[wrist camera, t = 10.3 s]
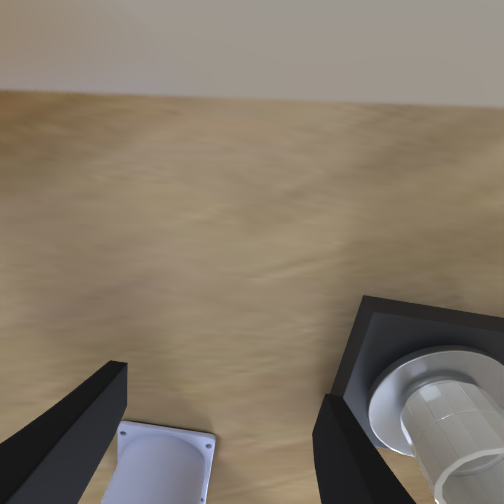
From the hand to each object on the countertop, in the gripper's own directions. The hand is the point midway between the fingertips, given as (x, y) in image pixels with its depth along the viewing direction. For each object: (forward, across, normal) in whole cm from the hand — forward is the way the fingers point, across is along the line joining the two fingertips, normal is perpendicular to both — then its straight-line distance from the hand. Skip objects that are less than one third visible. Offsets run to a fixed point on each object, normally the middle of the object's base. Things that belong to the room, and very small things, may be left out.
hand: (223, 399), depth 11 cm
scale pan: (+7, -14, +5) cm, 16 cm away
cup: (+6, -14, +5) cm, 16 cm away
